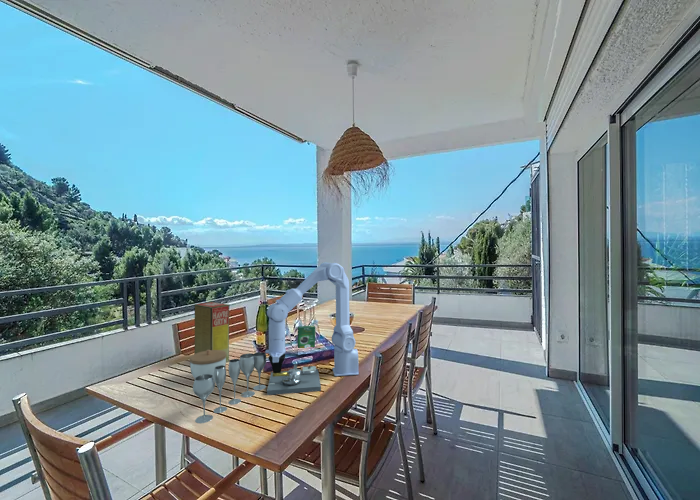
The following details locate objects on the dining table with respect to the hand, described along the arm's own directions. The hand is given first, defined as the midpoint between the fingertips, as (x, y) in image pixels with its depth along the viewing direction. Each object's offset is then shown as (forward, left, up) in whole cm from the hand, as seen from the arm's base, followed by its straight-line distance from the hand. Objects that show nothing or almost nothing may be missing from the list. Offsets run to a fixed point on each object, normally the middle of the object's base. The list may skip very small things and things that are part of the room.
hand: (277, 375), depth 111 cm
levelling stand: (-6, -2, -4) cm, 7 cm away
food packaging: (+30, -31, -4) cm, 43 cm away
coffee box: (-11, -33, -4) cm, 35 cm away
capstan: (-6, +1, -2) cm, 7 cm away
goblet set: (+13, +9, -4) cm, 16 cm away
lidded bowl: (+26, -11, -4) cm, 28 cm away
